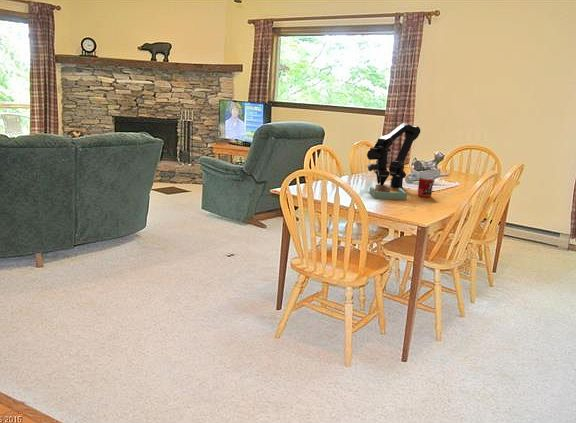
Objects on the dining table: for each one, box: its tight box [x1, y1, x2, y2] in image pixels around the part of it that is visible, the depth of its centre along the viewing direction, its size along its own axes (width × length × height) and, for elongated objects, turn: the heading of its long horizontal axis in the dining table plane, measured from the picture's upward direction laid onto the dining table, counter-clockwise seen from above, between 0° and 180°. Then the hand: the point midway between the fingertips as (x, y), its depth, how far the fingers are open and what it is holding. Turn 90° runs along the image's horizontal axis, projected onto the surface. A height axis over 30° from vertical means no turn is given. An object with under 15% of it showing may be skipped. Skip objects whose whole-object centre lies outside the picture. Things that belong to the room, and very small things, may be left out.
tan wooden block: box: [374, 184, 391, 192], centre depth 309 cm, size 7×7×4 cm
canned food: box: [417, 175, 434, 199], centre depth 300 cm, size 8×8×11 cm
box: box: [369, 186, 408, 201], centre depth 296 cm, size 18×14×4 cm
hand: (379, 185), depth 317 cm, fingers open, 9 cm apart
